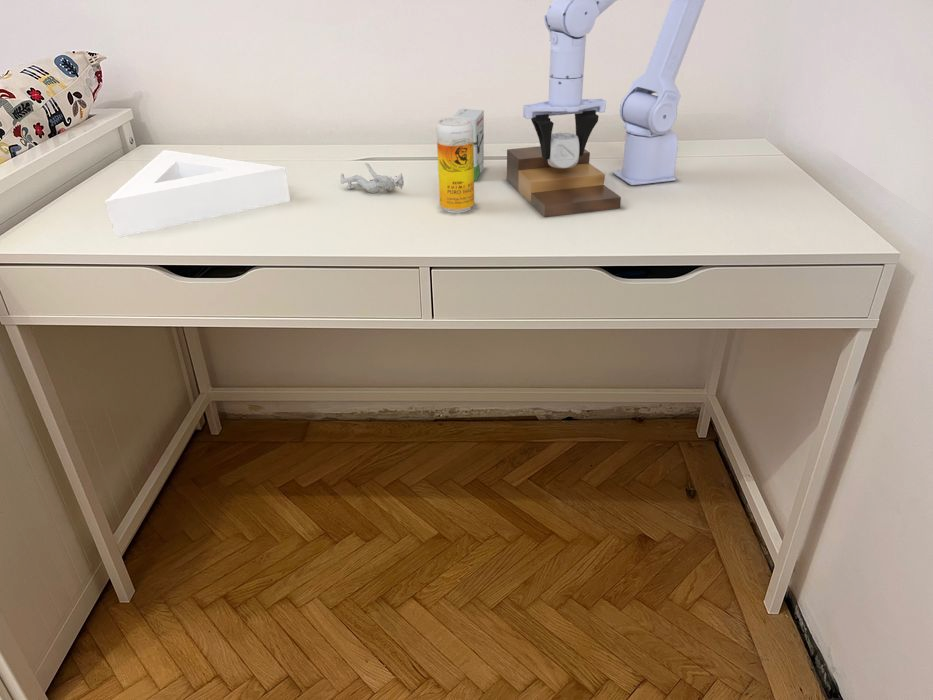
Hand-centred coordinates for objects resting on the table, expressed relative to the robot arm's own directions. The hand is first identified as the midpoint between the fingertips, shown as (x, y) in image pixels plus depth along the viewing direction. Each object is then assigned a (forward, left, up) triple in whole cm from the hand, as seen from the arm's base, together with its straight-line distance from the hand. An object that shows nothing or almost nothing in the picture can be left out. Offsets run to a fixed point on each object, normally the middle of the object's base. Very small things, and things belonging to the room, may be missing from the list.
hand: (562, 156), depth 124 cm
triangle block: (+67, -19, -7) cm, 70 cm away
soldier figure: (+33, -11, -7) cm, 36 cm away
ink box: (+13, -16, -7) cm, 22 cm away
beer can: (+20, +2, -7) cm, 21 cm away
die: (0, 0, -2) cm, 2 cm away
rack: (0, 0, -7) cm, 7 cm away
